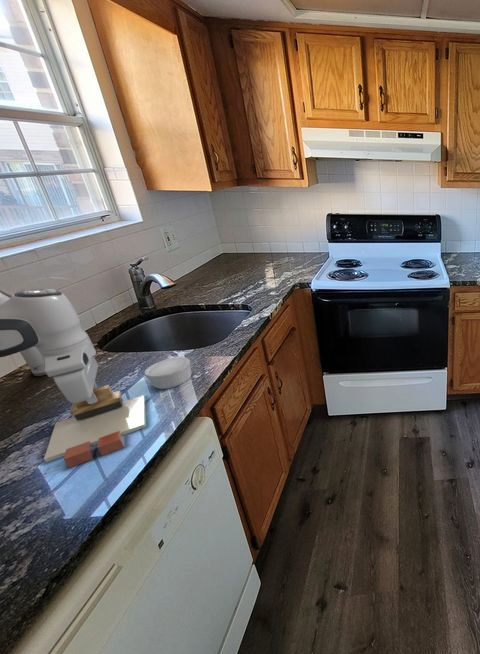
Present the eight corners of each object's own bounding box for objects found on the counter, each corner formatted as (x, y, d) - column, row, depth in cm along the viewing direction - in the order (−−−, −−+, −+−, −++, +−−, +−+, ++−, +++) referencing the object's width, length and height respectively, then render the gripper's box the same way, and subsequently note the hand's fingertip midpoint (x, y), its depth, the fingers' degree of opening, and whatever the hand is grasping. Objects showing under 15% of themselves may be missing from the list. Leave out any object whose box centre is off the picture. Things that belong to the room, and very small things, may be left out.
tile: (45, 462, 81) (43, 459, 81) (57, 425, 93) (55, 422, 92) (145, 427, 91) (144, 424, 91) (145, 397, 103) (143, 394, 102)
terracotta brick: (101, 455, 83) (97, 447, 82) (103, 446, 86) (98, 437, 84) (124, 447, 85) (119, 439, 84) (124, 438, 88) (120, 430, 87)
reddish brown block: (68, 468, 80) (63, 459, 79) (71, 457, 82) (65, 449, 81) (92, 459, 82) (87, 450, 81) (94, 449, 85) (89, 440, 84)
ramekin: (159, 374, 114) (152, 360, 111) (199, 368, 117) (194, 353, 114) (144, 395, 104) (136, 379, 102) (188, 387, 107) (182, 371, 105)
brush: (75, 421, 92) (63, 402, 89) (77, 413, 95) (66, 394, 92) (123, 406, 97) (114, 387, 95) (124, 399, 100) (115, 381, 97)
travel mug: (41, 377, 114) (6, 320, 106) (29, 374, 116) (-6, 317, 108) (65, 367, 119) (34, 312, 111) (54, 364, 122) (23, 309, 113)
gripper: (58, 341, 94) (83, 385, 100) (43, 374, 80) (72, 424, 85) (91, 334, 98) (112, 377, 104) (81, 364, 83) (107, 413, 89)
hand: (94, 399), depth 94 cm, fingers closed on brush, 2 cm apart
